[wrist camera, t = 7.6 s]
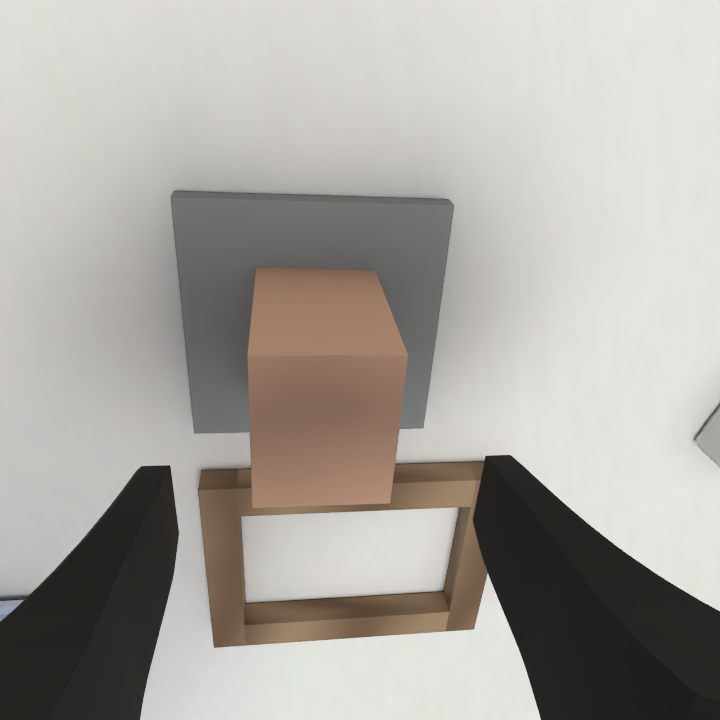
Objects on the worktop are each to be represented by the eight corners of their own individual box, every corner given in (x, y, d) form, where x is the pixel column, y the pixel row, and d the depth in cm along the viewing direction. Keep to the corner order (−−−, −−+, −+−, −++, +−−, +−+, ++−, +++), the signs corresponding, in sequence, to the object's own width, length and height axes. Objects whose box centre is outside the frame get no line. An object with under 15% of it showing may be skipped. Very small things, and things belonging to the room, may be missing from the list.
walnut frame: (216, 625, 29) (214, 647, 28) (201, 470, 24) (198, 490, 23) (467, 608, 31) (473, 629, 30) (500, 461, 26) (509, 479, 25)
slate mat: (196, 421, 23) (194, 433, 22) (174, 191, 19) (170, 197, 18) (419, 416, 24) (423, 428, 24) (447, 199, 20) (454, 205, 19)
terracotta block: (259, 393, 22) (252, 508, 17) (256, 267, 19) (247, 355, 14) (364, 393, 22) (390, 503, 17) (374, 269, 20) (408, 355, 15)
